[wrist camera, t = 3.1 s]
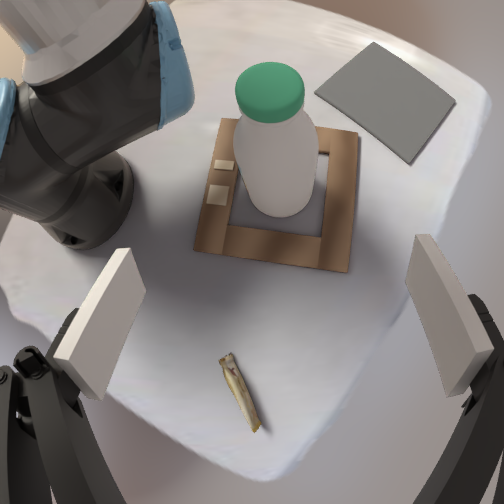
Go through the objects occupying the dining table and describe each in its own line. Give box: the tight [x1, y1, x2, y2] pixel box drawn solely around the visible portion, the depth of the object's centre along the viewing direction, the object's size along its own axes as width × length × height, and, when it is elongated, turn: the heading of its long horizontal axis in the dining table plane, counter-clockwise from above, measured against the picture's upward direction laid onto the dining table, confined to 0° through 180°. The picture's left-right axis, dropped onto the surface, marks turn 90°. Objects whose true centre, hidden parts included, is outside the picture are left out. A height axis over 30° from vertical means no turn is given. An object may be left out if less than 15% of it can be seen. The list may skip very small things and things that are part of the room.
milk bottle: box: [233, 62, 319, 217], centre depth 28 cm, size 8×8×20 cm
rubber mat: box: [314, 42, 456, 164], centre depth 38 cm, size 16×16×1 cm
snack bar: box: [219, 353, 261, 433], centre depth 34 cm, size 10×2×3 cm, turn 22°
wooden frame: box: [193, 118, 358, 273], centre depth 38 cm, size 18×18×1 cm
